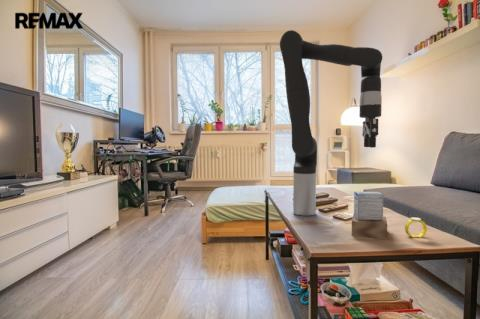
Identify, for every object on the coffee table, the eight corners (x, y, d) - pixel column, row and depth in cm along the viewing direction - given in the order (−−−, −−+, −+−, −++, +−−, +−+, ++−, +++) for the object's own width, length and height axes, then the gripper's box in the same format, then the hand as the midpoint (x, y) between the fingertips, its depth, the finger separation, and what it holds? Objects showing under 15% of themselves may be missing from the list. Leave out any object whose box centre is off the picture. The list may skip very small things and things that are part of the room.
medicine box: (378, 217, 91) (378, 191, 90) (383, 221, 86) (383, 193, 86) (353, 216, 92) (353, 191, 91) (357, 220, 87) (357, 193, 87)
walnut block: (351, 236, 87) (351, 221, 87) (353, 227, 96) (353, 213, 96) (387, 241, 83) (387, 224, 82) (385, 231, 92) (385, 216, 91)
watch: (408, 239, 84) (407, 220, 83) (403, 236, 86) (402, 217, 86) (428, 237, 83) (427, 218, 83) (422, 234, 86) (422, 216, 86)
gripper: (356, 107, 111) (355, 147, 112) (363, 102, 97) (363, 147, 98) (376, 106, 109) (375, 147, 110) (386, 101, 95) (385, 147, 96)
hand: (369, 147), depth 104 cm, fingers open, 8 cm apart
